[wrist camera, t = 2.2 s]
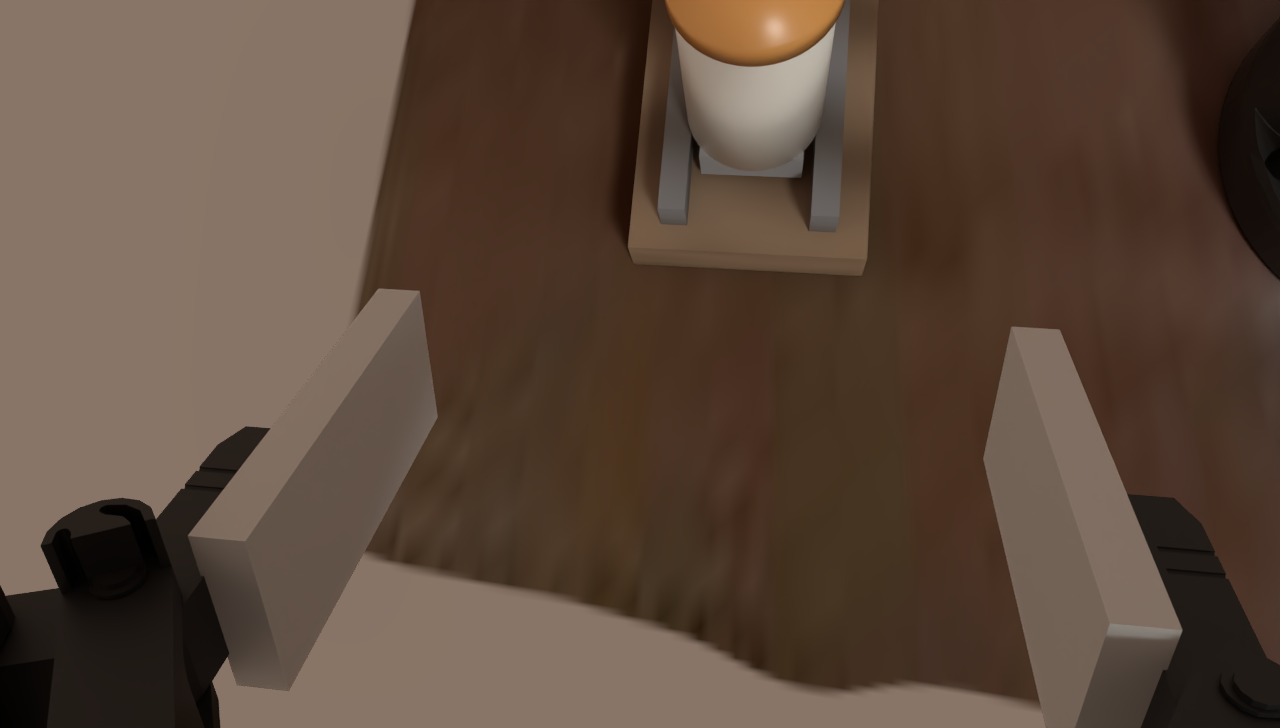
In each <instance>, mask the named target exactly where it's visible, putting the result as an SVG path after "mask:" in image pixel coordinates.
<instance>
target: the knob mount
mask: <svg viewBox="0 0 1280 728" xmlns="http://www.w3.org/2000/svg"><path fill="white" fill-rule="evenodd" d="M878 6H879V0H845V3H844V7H843V9H842V11H841V13H840V16H839V18H838V19H837V21H836V24H835V31H834V38H833V45H832V52H831V59H830V66H829V73H828V80H827V87H826V94H825V101H824V108H823V115H822V120H821V124H820V127H819V129H818V132H817V134H816V136H815V137H814V139H813V141H812V142H811V143H810V144H809V146H808V147H807V148H806V149H805V150H804V159H803V168H802V177H801V178H789V177H765V176H740V175H716V174H701V168H700V160H699V151H700V146H699V145H698V144H697V142H696V140H695V139H694V137H693V135H692V132H691V130H690V127H689V123H688V117H687V110H686V103H685V95H684V88H683V81H682V73H681V66H680V59H679V52H678V44H677V37H676V30H675V27H674V25H673V23H672V21H671V19H670V17H669V15H668V12H667V8H666V5H665V0H652V8H651V18H650V28H649V38H648V48H647V59H646V69H645V79H644V89H643V99H642V109H641V119H640V129H639V139H638V149H637V160H636V170H635V180H634V190H633V200H632V210H631V220H630V230H629V240H628V249H629V252H630V255H631V258H632V260H633V263H634V264H643V265H662V266H681V267H700V268H719V269H738V270H756V271H775V272H794V273H813V274H832V275H851V276H862V273H863V270H864V267H865V264H866V261H867V251H868V228H869V206H870V184H871V162H872V139H873V117H874V95H875V73H876V50H877V28H878Z"/></svg>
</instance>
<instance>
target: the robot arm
mask: <svg viewBox="0 0 1280 728" xmlns="http://www.w3.org/2000/svg"><path fill="white" fill-rule="evenodd" d="M1219 161H1220V168H1221V174H1222V179H1223V183H1224V187H1225V191H1226V194H1227V197H1228V200H1229V203H1230V205H1231V208H1232V210H1233V212H1234V215H1235V217H1236V219H1237V221H1238V223H1239V225H1240V227H1241V229H1242V231H1243V232H1244V234H1245V236H1246V237H1247V239H1248V240H1249V242H1250V244H1251V245H1252V246H1253V248H1254V249H1255V250H1256V252H1257V253H1258V255H1259V256H1260V257H1261V258H1262V260H1263V261H1264V262H1265V263H1266V264H1267V266H1268V267H1269V268H1270V269H1271V270H1272V271H1273V272H1274V273H1275V274H1276V275H1277V276H1278V277H1279V278H1280V18H1279V19H1278V20H1277V21H1276V22H1275V23H1274V24H1273V26H1272V27H1271V28H1270V29H1269V30H1268V31H1267V32H1266V33H1265V34H1264V35H1263V36H1262V38H1261V39H1260V40H1259V41H1258V42H1257V43H1256V44H1255V46H1254V47H1253V48H1252V49H1251V50H1250V52H1249V53H1248V55H1247V56H1246V57H1245V59H1244V60H1243V62H1242V64H1241V65H1240V67H1239V69H1238V70H1237V72H1236V74H1235V76H1234V78H1233V80H1232V82H1231V85H1230V87H1229V90H1228V93H1227V95H1226V98H1225V102H1224V106H1223V109H1222V114H1221V120H1220V128H1219ZM436 419H437V410H436V403H435V396H434V389H433V382H432V375H431V368H430V361H429V354H428V347H427V340H426V333H425V326H424V319H423V312H422V305H421V299H420V292H419V291H409V290H393V289H378V290H377V291H376V293H375V294H374V295H373V296H372V298H371V299H370V300H369V302H368V303H367V304H366V306H365V307H364V308H363V309H362V311H361V312H360V313H359V315H358V316H357V317H356V318H355V320H354V321H353V322H352V324H351V325H350V326H349V328H348V329H347V330H346V331H345V333H344V334H343V335H342V337H341V338H340V339H339V341H338V342H337V343H336V344H335V346H334V347H333V348H332V350H331V351H330V352H329V354H328V355H327V356H326V358H325V359H324V360H323V361H322V363H321V364H320V365H319V366H318V368H317V369H316V370H315V372H314V373H313V374H312V375H311V377H310V378H309V379H308V381H307V382H306V383H305V385H304V386H303V387H302V388H301V390H300V391H299V392H298V394H297V395H296V396H295V398H294V399H293V400H292V401H291V403H290V404H289V405H288V407H287V408H286V409H285V411H284V412H283V413H282V414H281V416H280V417H279V418H278V420H277V421H276V422H275V423H274V425H273V426H272V427H271V428H259V427H245V428H243V429H241V430H240V431H238V432H237V433H235V434H234V435H232V436H231V437H229V438H228V439H226V440H225V441H223V442H221V443H220V444H218V445H217V446H216V448H215V449H214V450H213V451H212V452H211V454H210V455H209V456H208V457H207V459H206V460H205V461H204V462H203V463H202V464H201V466H200V470H199V471H196V472H195V473H194V474H193V475H192V477H191V478H190V479H189V480H188V482H187V483H186V484H185V489H181V490H180V491H179V492H178V493H177V495H176V496H175V497H174V498H173V500H172V501H171V502H170V503H169V504H168V506H167V507H166V508H165V509H164V510H163V512H162V513H161V514H160V515H159V517H158V518H157V519H155V516H154V514H153V511H152V509H151V507H150V506H148V505H146V504H145V503H143V502H141V501H140V500H133V499H125V498H118V499H110V500H102V501H98V502H95V503H92V504H90V505H86V506H84V507H80V508H78V509H77V510H75V511H73V512H72V513H70V514H68V515H66V516H65V517H63V518H61V519H60V520H59V521H58V522H57V523H56V524H55V525H54V526H53V527H52V528H50V529H49V530H48V531H47V533H46V535H45V537H44V539H43V542H42V544H41V548H42V550H43V552H44V555H45V557H46V559H47V562H48V564H49V566H50V569H51V571H52V573H53V575H54V578H55V580H56V582H57V585H58V587H59V588H57V589H50V590H43V591H36V592H29V593H22V594H16V595H8V596H5V594H4V592H3V590H2V588H1V586H0V728H220V718H219V701H218V697H217V694H216V691H215V688H214V685H213V683H212V680H213V679H214V677H215V676H216V674H217V672H218V671H219V669H220V668H221V666H222V664H223V663H224V661H225V660H226V658H227V657H228V659H229V662H230V666H231V669H232V672H233V674H234V678H235V681H236V684H237V685H241V686H249V687H258V688H267V689H276V690H284V691H289V690H290V688H291V686H292V684H293V682H294V681H295V679H296V677H297V675H298V673H299V671H300V669H301V668H302V666H303V664H304V662H305V660H306V658H307V657H308V655H309V653H310V651H311V649H312V647H313V645H314V644H315V642H316V640H317V638H318V636H319V634H320V633H321V631H322V629H323V627H324V625H325V623H326V622H327V620H328V618H329V616H330V614H331V612H332V610H333V608H334V607H335V605H336V603H337V601H338V599H339V598H340V596H341V594H342V592H343V590H344V588H345V587H346V584H347V583H348V581H349V579H350V577H351V576H352V574H353V572H354V570H355V568H356V566H357V564H358V562H359V561H360V559H361V557H362V555H363V553H364V552H365V550H366V548H367V546H368V544H369V542H370V541H371V539H372V537H373V535H374V533H375V531H376V529H377V528H378V526H379V524H380V522H381V520H382V518H383V517H384V515H385V513H386V511H387V509H388V507H389V506H390V504H391V502H392V500H393V498H394V496H395V495H396V493H397V491H398V489H399V487H400V485H401V483H402V482H403V480H404V478H405V476H406V474H407V472H408V471H409V469H410V467H411V465H412V463H413V461H414V460H415V458H416V456H417V454H418V452H419V450H420V448H421V447H422V445H423V443H424V441H425V439H426V437H427V436H428V434H429V432H430V430H431V428H432V426H433V425H434V423H435V421H436ZM983 460H984V464H985V468H986V472H987V477H988V481H989V485H990V490H991V494H992V498H993V502H994V507H995V511H996V515H997V520H998V524H999V528H1000V532H1001V537H1002V541H1003V545H1004V550H1005V554H1006V558H1007V562H1008V567H1009V571H1010V575H1011V580H1012V584H1013V588H1014V593H1015V597H1016V601H1017V605H1018V610H1019V614H1020V618H1021V623H1022V627H1023V631H1024V635H1025V640H1026V644H1027V648H1028V653H1029V657H1030V661H1031V665H1032V670H1033V674H1034V678H1035V683H1036V687H1037V691H1038V695H1039V700H1040V704H1041V708H1042V713H1043V717H1044V721H1045V725H1046V728H1280V665H1278V664H1277V663H1275V662H1273V661H1271V660H1270V659H1267V657H1266V655H1265V653H1264V651H1263V649H1262V647H1261V645H1260V643H1259V641H1258V639H1257V637H1256V635H1255V633H1254V631H1253V629H1252V627H1251V625H1250V622H1249V620H1248V618H1247V616H1246V614H1245V612H1244V610H1243V608H1242V606H1241V604H1240V602H1239V600H1238V598H1237V596H1236V594H1235V592H1234V590H1233V588H1232V586H1231V584H1230V581H1229V579H1226V578H1225V574H1226V573H1225V571H1224V569H1223V567H1222V565H1221V563H1220V561H1219V559H1218V557H1216V556H1215V555H1214V552H1215V551H1214V549H1213V547H1212V545H1211V543H1210V540H1209V538H1208V536H1207V534H1206V532H1205V530H1204V528H1203V526H1202V524H1201V523H1200V522H1199V521H1198V520H1197V519H1196V518H1195V517H1194V516H1193V515H1192V514H1190V513H1189V512H1188V511H1187V510H1186V509H1185V508H1184V507H1183V506H1182V505H1181V504H1180V503H1179V502H1178V501H1177V500H1175V499H1174V498H1167V497H1155V496H1142V495H1130V494H1127V493H1126V491H1125V488H1124V486H1123V483H1122V481H1121V479H1120V476H1119V474H1118V471H1117V469H1116V466H1115V464H1114V461H1113V459H1112V457H1111V454H1110V452H1109V449H1108V447H1107V444H1106V442H1105V439H1104V437H1103V435H1102V432H1101V430H1100V427H1099V425H1098V422H1097V420H1096V417H1095V415H1094V413H1093V410H1092V408H1091V405H1090V403H1089V400H1088V398H1087V395H1086V393H1085V391H1084V388H1083V386H1082V383H1081V381H1080V378H1079V376H1078V374H1077V371H1076V369H1075V366H1074V364H1073V361H1072V359H1071V356H1070V354H1069V352H1068V349H1067V347H1066V344H1065V342H1064V339H1063V337H1062V334H1061V332H1060V330H1058V329H1041V328H1024V327H1011V331H1010V336H1009V341H1008V346H1007V350H1006V355H1005V360H1004V364H1003V369H1002V374H1001V378H1000V383H999V388H998V392H997V397H996V402H995V406H994V411H993V416H992V420H991V425H990V430H989V434H988V439H987V444H986V449H985V453H984V458H983Z"/></svg>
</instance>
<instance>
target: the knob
mask: <svg viewBox="0 0 1280 728" xmlns="http://www.w3.org/2000/svg"><path fill="white" fill-rule="evenodd" d="M844 3H845V0H665V5H666V8H667V12H668V15H669V17H670V19H671V21H672V23H673V25H674V27H675V30H676V37H677V44H678V52H679V59H680V66H681V73H682V81H683V88H684V95H685V103H686V110H687V117H688V123H689V127H690V130H691V132H692V135H693V137H694V139H695V140H696V142H697V144H698V145H699V146H700V151H699V160H700V168H701V174H716V175H740V176H765V177H789V178H801V177H802V168H803V159H804V150H805V149H806V148H807V147H808V146H809V144H810V143H811V142H812V141H813V139H814V137H815V136H816V134H817V132H818V129H819V127H820V124H821V120H822V115H823V108H824V101H825V94H826V87H827V80H828V73H829V66H830V59H831V52H832V45H833V38H834V31H835V24H836V21H837V19H838V18H839V16H840V13H841V11H842V9H843V7H844Z"/></svg>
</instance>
